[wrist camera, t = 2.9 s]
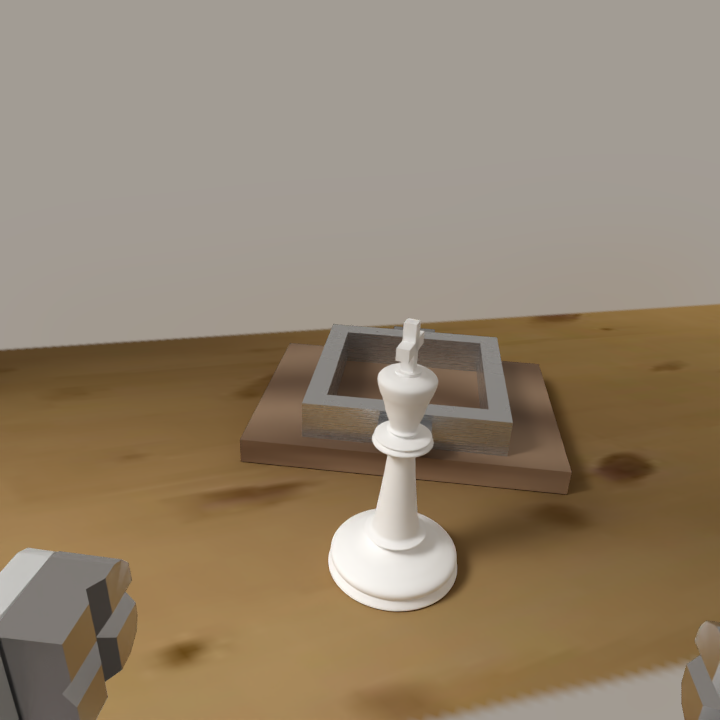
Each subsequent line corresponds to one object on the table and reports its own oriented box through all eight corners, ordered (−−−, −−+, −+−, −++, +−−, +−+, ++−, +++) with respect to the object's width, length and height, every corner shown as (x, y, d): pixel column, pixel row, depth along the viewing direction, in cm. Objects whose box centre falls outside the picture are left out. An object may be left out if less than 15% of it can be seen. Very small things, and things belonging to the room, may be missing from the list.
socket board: (566, 494, 29) (571, 472, 29) (240, 461, 31) (240, 439, 30) (535, 382, 39) (538, 364, 39) (290, 360, 40) (289, 343, 40)
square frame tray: (509, 471, 29) (515, 436, 28) (296, 450, 29) (296, 415, 29) (491, 357, 39) (495, 329, 38) (335, 344, 40) (336, 317, 39)
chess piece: (469, 539, 26) (503, 309, 22) (438, 630, 22) (472, 368, 18) (356, 507, 28) (366, 286, 24) (306, 587, 24) (308, 335, 19)
